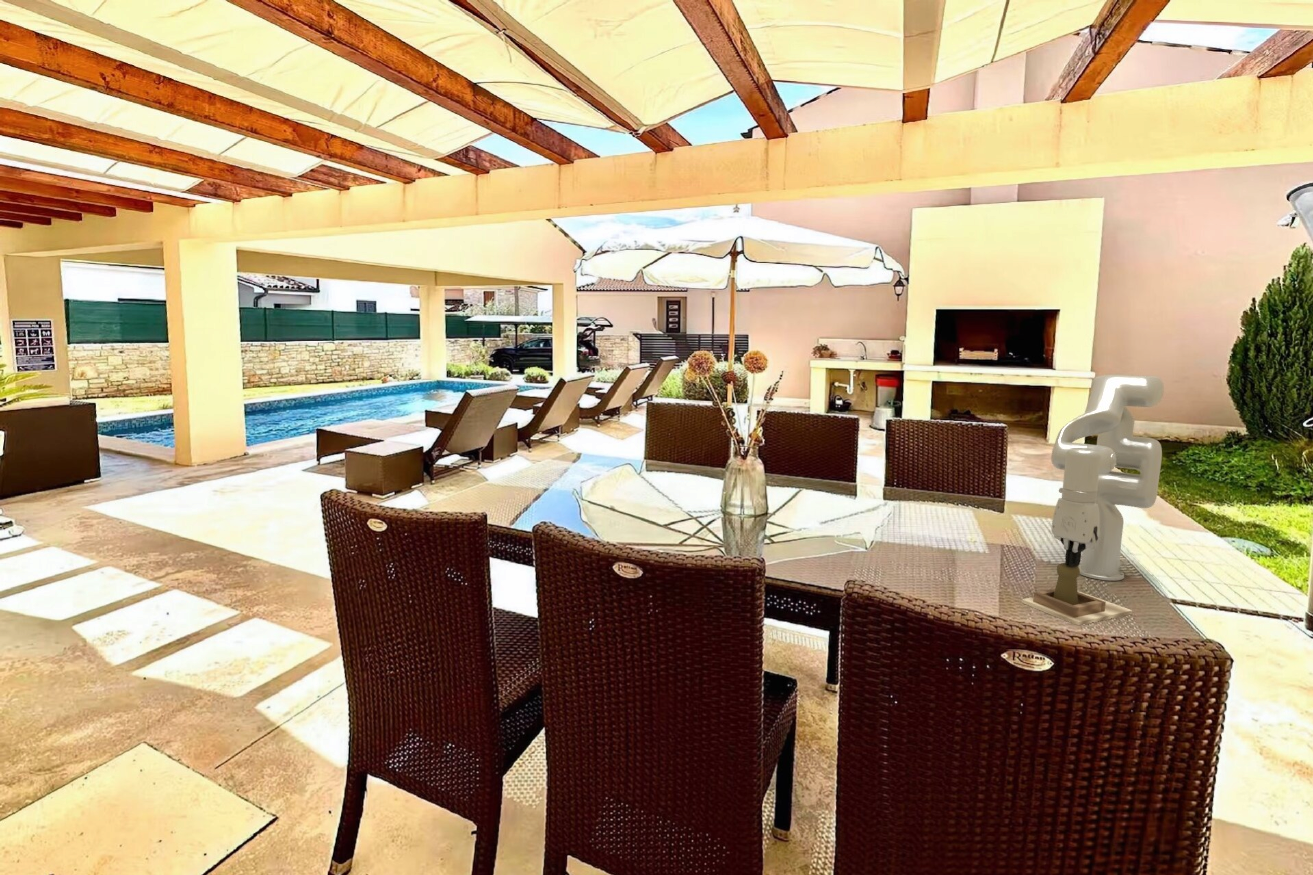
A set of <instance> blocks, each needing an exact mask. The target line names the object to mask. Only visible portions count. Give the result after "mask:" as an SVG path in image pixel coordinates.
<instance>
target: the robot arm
mask: <svg viewBox="0 0 1313 875" xmlns="http://www.w3.org/2000/svg"><path fill="white" fill-rule="evenodd" d="M1090 389H1091V393H1090V395H1089V397H1088V398H1089V399H1088V401H1087V405H1086V407H1085V410H1084V413H1083V414H1081V415H1078V416H1077V417H1075V418H1073V419H1072V420H1070V421H1068V423H1066V424H1065V425H1064V426H1062V428H1061V429H1060V430H1059V432H1058V433H1057V435H1056V437H1055V438H1056V439H1055V441H1054V443H1053V447H1052V450H1051V455H1050V459H1051V464H1052V465H1053V466H1054V467H1055V469H1058V470H1061V471H1063V472H1064V473H1063V482H1062V487H1059V489H1058V493H1061V497H1060V498H1058V500H1057V502H1056V505H1055V507H1054V512H1053V518H1052V520H1051V521H1052V522H1051V533H1052V534H1053V537H1054V539H1056V540H1058V541H1059V542H1061V544H1062V546H1063V549H1064V550H1065V555H1064V556H1065V559H1064V561H1065V562H1064V563H1065V565H1067V566H1070V567H1075V566H1078V567H1079V569H1080V575H1081V576H1083V577H1087V578H1091V579H1095V580H1100V581H1113V582H1116V581H1122V580H1124V578H1125V573H1124V572H1123V571H1121V570H1120V568H1122V567H1126V566H1127V565H1128V561H1127V560H1126V559H1120V558H1121V549H1122V541H1123V540H1122V539H1123V529H1124V517H1123V514H1122V513H1121V512H1120V510H1119V509H1118V507H1117V506H1126V507H1131V508H1133V507H1134V508H1138V509H1139V508H1141V509H1148V508H1149V509H1150V508H1151V507H1153V506H1154V505H1155V503H1156V500H1157V497H1158V490H1159V481H1160V474H1161V466H1162V459H1163V452H1162V450H1163V448H1162V444H1161V443H1160V442H1159V441H1158V440H1157V439H1156V438H1152V437H1143V436H1134V428H1135V418H1134V416H1133V414H1132V413H1131V411H1130V410H1129V408H1127V407H1134V408H1135V407H1138V408H1139V407H1140V408H1153V407H1155V406H1157V405H1158V404H1159V403H1160V402H1161V401H1162V398H1164V397H1163V396H1164V392H1165V391H1164V390H1165V388H1164V382H1163V381H1162V379H1161V378H1160V377H1159V376H1154V375H1132V374H1131V375H1130V374H1102V375H1098V376H1096V377H1094V378H1093V379H1092V381H1091V385H1090ZM1095 435H1097V439H1096V444H1089V443H1081V442H1075V441H1077V440H1079V439H1082V438H1086V437H1090V436H1095ZM1114 468H1122V469H1128V470H1136V471H1138V472H1139V473H1140V474H1136V473H1129V472H1121V471H1113V469H1114Z"/></svg>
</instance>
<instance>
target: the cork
mask: <svg viewBox="0 0 1313 875" xmlns="http://www.w3.org/2000/svg"><path fill="white" fill-rule="evenodd" d="M1056 574H1057V581H1056V584H1055V588H1054V589H1055V592H1054V596H1053V598H1055V599H1058V600H1061V601H1063V602H1066V603H1068V604H1071V605H1077V604H1078V593H1077V591H1078V579H1077V578H1079V577H1080V575H1081V574H1080V569H1079V567H1078V566H1075V567H1070V566H1067V565H1065V562H1061V563H1059V564H1058V565H1057V566H1056Z"/></svg>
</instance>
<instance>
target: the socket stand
mask: <svg viewBox="0 0 1313 875" xmlns="http://www.w3.org/2000/svg"><path fill="white" fill-rule="evenodd" d="M1054 592H1055V588H1051V589H1046V590H1042V591H1041V590H1040V591H1037V592H1036V591H1035V592H1033V597H1026V598H1022V599H1021V603H1022V604H1023V605H1024V604H1025V605H1026V606H1028V607H1031V608H1034V609H1036V610H1039V611H1041V612H1044V613H1046V614H1049V615H1051V616H1053V617H1055V618H1057V619H1060V620H1063V621H1065V620H1067V621H1066V622H1068V621H1069V623H1070V622H1072V623H1071V624H1073V625H1075V624H1076V625H1075V626H1077V627H1079V626H1084V625H1083V624H1085V625H1088V624H1093V623H1092V622H1094V623H1098V621H1099V622H1101V621H1100V620H1103V621H1107V620H1111V618H1112V619H1116V618H1120V617H1125V616H1130V615H1132V614H1133V610H1132V609H1129V608H1126V607H1124V606H1122V605H1118V604H1115V603H1113V602H1110V601H1107V600H1104V599H1102V598H1098V597H1096V596H1093V595H1090V594H1087V593H1085V592H1082V591H1080V590H1077V593H1078V604H1077V605H1071V604H1068V603H1066V602H1063V601H1061V600H1058V599H1055V598H1053V596H1054Z"/></svg>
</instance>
